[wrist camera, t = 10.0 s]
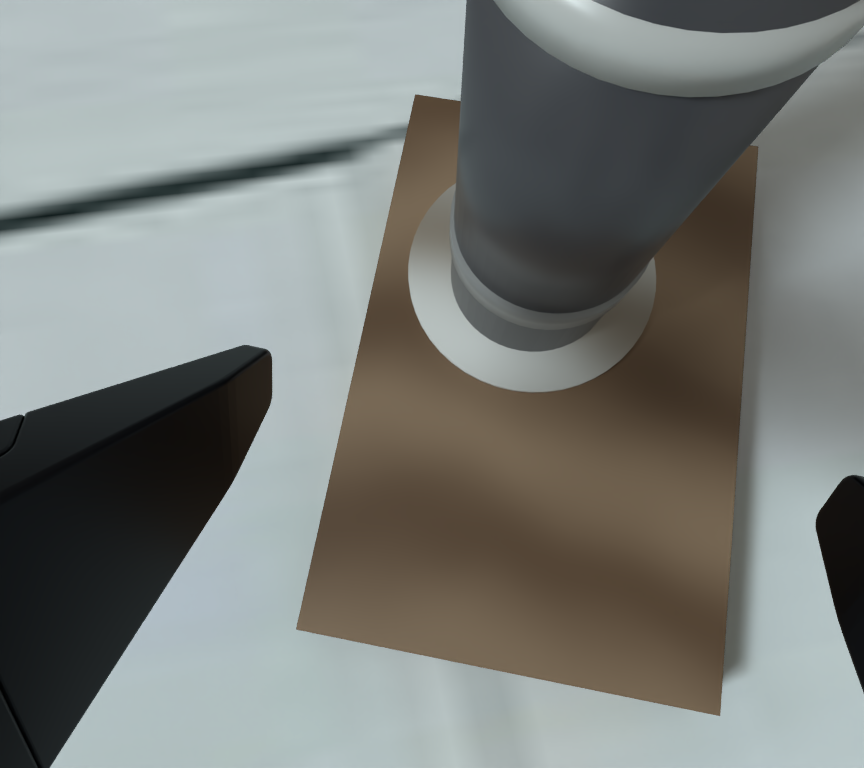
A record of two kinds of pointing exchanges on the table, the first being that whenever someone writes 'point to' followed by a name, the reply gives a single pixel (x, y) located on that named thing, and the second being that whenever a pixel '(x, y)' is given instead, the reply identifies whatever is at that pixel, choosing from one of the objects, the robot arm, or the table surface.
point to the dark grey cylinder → (607, 141)
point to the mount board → (542, 460)
